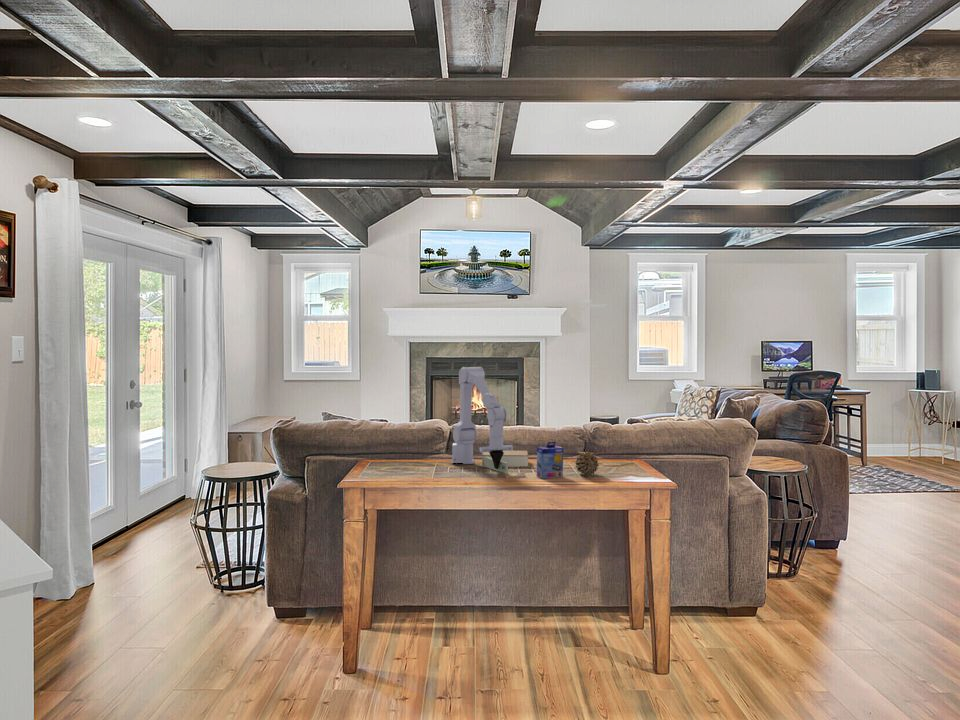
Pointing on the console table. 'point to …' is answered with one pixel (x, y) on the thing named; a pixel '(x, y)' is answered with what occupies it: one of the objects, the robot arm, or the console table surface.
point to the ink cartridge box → (549, 461)
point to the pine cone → (586, 463)
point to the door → (489, 464)
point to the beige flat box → (512, 458)
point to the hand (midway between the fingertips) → (496, 468)
